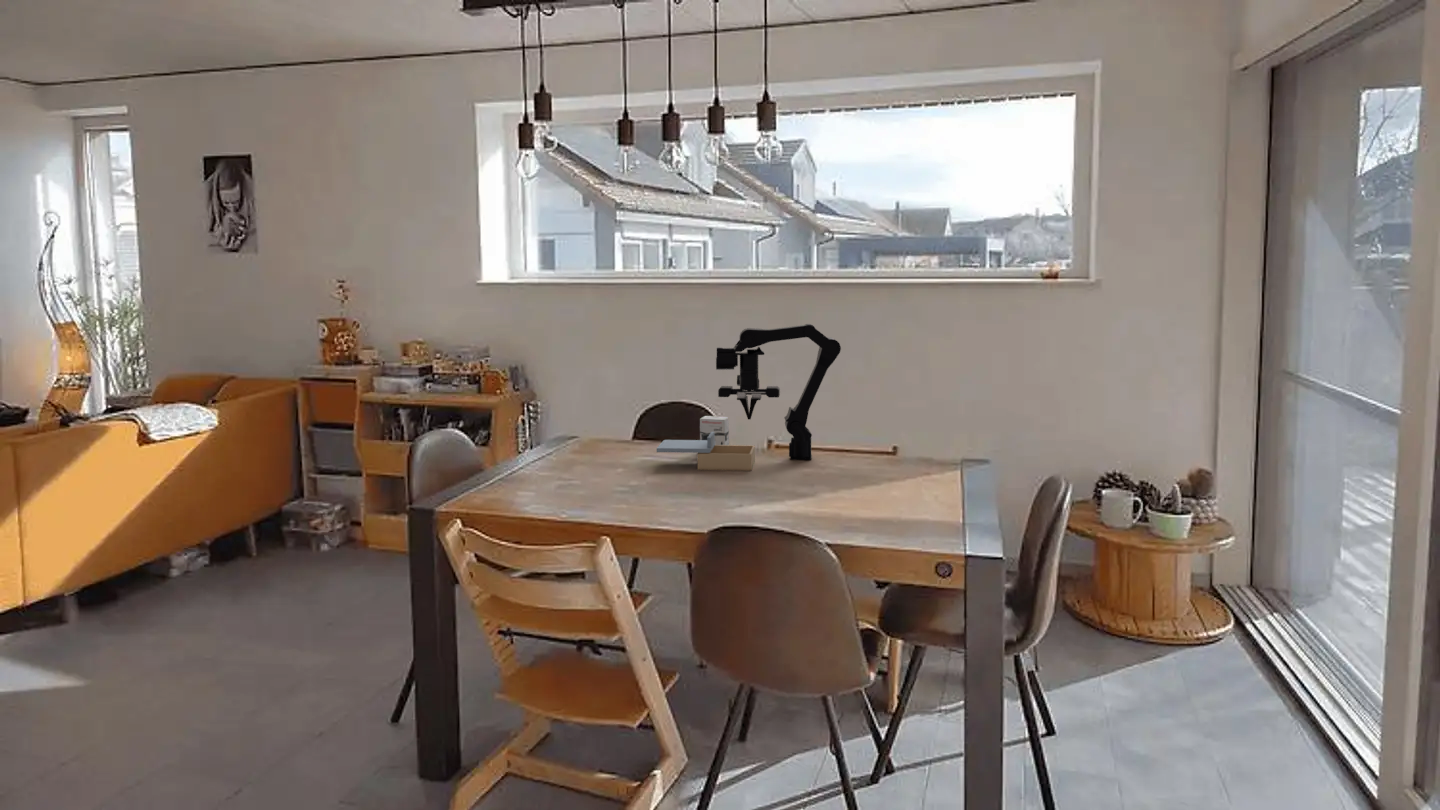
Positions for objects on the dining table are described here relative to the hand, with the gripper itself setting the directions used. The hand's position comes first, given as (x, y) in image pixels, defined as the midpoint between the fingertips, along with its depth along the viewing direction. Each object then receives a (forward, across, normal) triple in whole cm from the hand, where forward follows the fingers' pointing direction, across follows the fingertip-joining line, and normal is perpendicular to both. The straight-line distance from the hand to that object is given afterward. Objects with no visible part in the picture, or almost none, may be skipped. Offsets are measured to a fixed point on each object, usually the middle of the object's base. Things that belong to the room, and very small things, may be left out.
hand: (749, 419), depth 325 cm
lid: (+7, +18, +11) cm, 22 cm away
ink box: (+13, +12, -8) cm, 19 cm away
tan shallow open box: (+12, +6, +11) cm, 18 cm away
